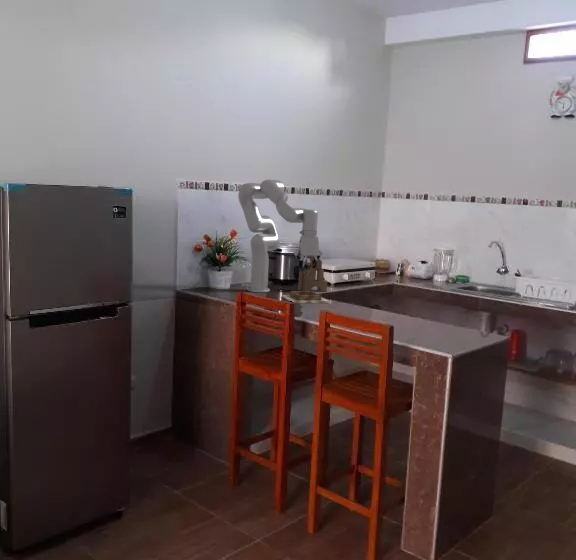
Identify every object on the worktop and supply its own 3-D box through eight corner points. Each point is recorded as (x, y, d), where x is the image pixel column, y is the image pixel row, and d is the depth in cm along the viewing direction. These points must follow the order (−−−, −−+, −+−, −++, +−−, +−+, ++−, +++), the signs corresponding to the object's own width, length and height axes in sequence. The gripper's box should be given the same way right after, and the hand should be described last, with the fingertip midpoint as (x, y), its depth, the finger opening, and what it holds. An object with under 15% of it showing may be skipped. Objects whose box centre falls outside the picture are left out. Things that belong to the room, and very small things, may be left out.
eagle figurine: (318, 269, 329) (310, 266, 337) (312, 258, 326) (304, 255, 334) (306, 277, 327) (298, 274, 335) (301, 266, 324) (293, 263, 332)
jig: (293, 303, 319) (293, 296, 319) (281, 296, 336) (281, 290, 336) (329, 303, 326) (330, 296, 326) (316, 296, 343) (316, 290, 342)
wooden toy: (322, 290, 368) (325, 247, 364) (326, 292, 361) (329, 248, 358) (297, 289, 363) (300, 246, 359) (301, 291, 357) (304, 247, 353)
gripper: (296, 233, 320) (294, 268, 322) (327, 234, 326) (325, 269, 328) (291, 232, 327) (289, 267, 329) (322, 233, 333) (320, 267, 335)
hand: (307, 267), depth 329 cm, fingers closed on eagle figurine, 6 cm apart
